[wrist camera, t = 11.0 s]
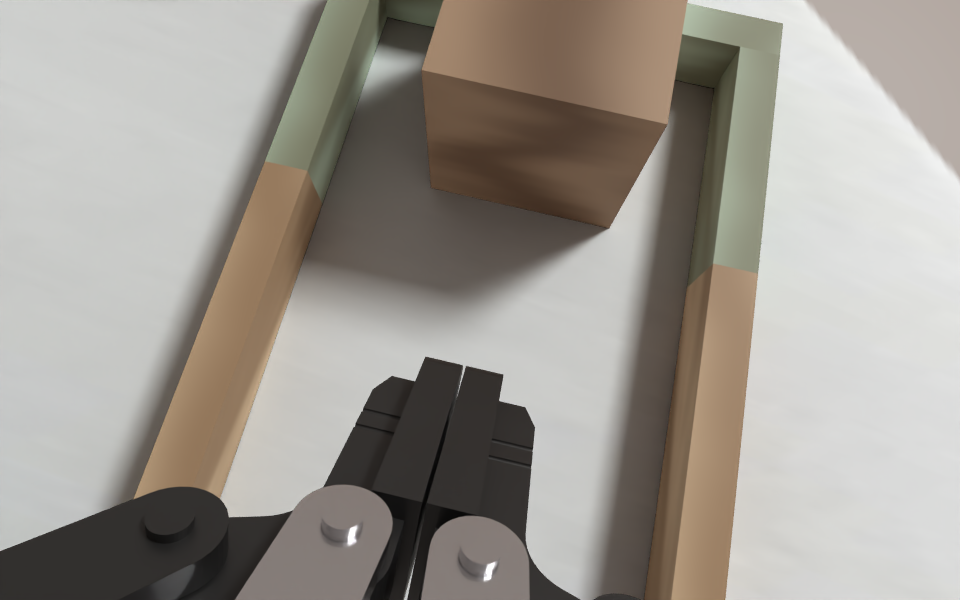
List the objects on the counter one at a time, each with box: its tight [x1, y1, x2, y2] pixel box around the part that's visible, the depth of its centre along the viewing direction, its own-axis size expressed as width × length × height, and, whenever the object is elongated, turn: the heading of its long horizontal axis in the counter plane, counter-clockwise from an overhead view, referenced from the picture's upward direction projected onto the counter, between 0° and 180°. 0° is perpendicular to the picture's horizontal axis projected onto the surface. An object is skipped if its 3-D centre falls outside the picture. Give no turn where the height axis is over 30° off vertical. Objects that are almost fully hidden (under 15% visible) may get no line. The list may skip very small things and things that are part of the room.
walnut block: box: [421, 0, 688, 228], centre depth 22 cm, size 7×7×7 cm
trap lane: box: [134, 0, 783, 600], centre depth 21 cm, size 17×30×2 cm, turn 167°
